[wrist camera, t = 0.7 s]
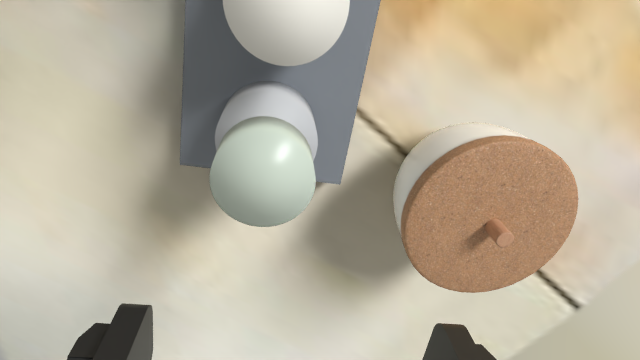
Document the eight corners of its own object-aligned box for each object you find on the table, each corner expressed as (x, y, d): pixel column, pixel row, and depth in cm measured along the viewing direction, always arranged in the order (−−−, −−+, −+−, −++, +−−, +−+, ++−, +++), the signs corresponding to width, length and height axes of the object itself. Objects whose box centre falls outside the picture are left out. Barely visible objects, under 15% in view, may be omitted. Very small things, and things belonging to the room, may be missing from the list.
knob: (220, 109, 20) (212, 124, 18) (320, 123, 21) (324, 140, 19) (213, 198, 22) (206, 221, 20) (304, 208, 23) (306, 231, 21)
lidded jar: (537, 116, 30) (635, 169, 22) (484, 237, 35) (548, 319, 26) (399, 90, 29) (448, 136, 20) (362, 221, 33) (389, 303, 25)
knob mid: (234, -78, 17) (227, -86, 15) (352, -53, 18) (361, -57, 16) (225, 46, 19) (217, 55, 17) (330, 64, 20) (336, 74, 18)
